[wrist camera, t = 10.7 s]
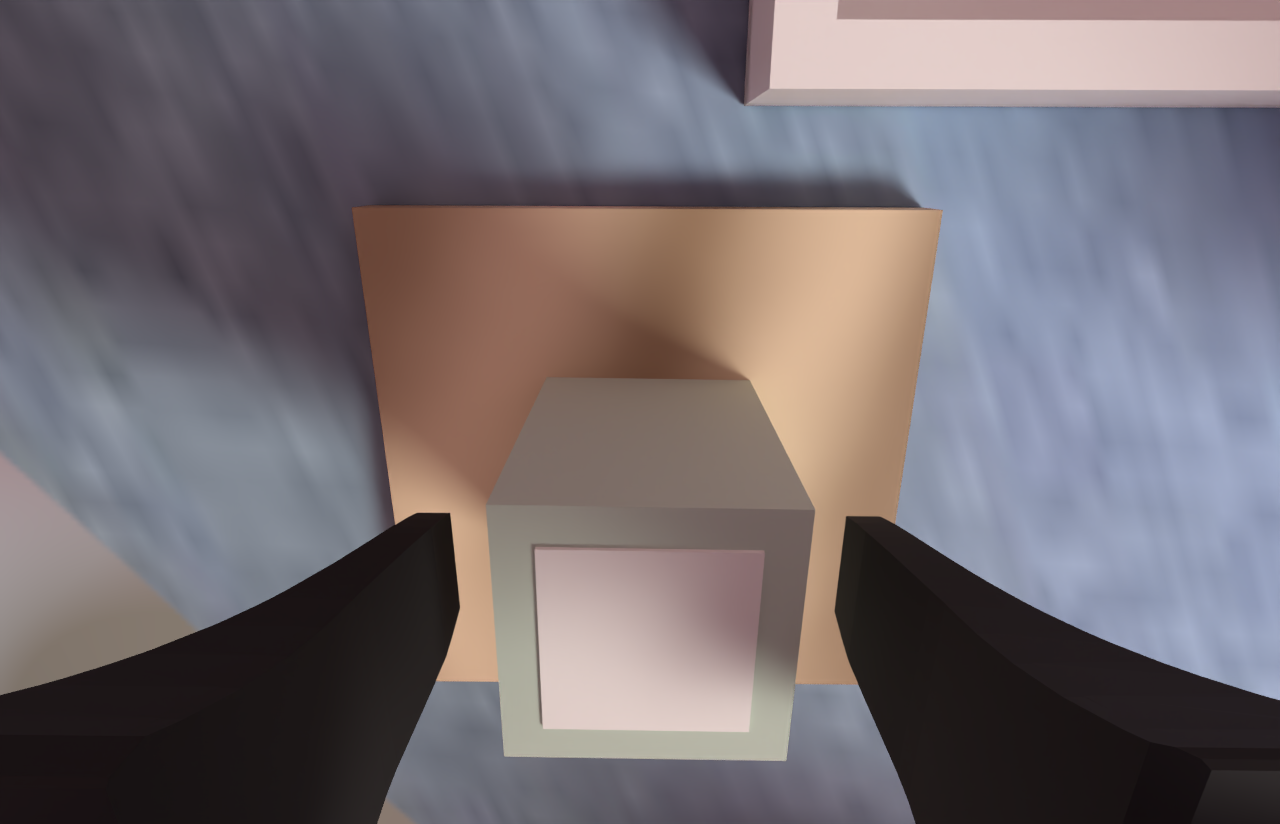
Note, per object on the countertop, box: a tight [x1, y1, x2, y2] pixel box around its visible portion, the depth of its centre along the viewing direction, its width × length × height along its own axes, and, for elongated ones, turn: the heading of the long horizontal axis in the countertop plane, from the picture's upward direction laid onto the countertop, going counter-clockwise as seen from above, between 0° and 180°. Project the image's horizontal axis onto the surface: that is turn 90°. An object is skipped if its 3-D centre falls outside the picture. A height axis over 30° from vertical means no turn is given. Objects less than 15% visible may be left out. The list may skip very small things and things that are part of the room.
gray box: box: [486, 377, 815, 761], centre depth 13 cm, size 4×4×6 cm
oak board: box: [352, 205, 943, 684], centre depth 16 cm, size 12×12×1 cm
